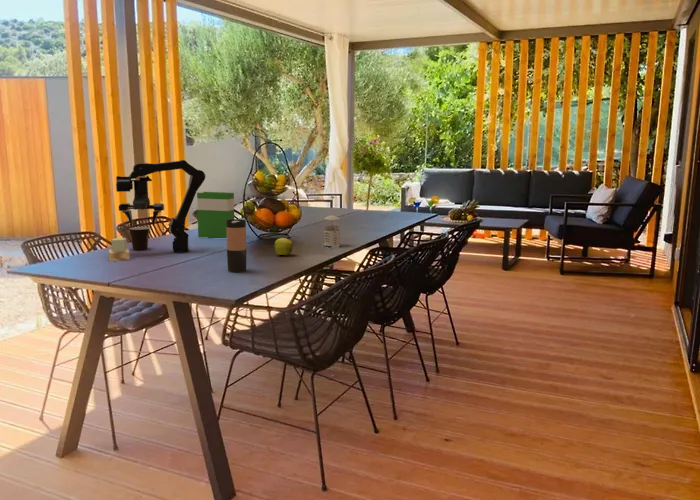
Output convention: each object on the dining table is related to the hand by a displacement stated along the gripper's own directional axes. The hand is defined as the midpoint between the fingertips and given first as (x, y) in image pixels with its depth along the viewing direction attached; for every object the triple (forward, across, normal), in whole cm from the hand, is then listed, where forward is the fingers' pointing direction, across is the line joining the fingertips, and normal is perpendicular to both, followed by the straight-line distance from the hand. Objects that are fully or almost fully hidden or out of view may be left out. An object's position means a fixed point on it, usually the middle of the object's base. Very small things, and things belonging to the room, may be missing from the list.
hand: (142, 226), depth 267 cm
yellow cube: (+9, -8, -12) cm, 17 cm away
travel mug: (+13, +42, -42) cm, 61 cm away
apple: (+13, +62, -11) cm, 64 cm away
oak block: (+13, -8, -12) cm, 19 cm away
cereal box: (+13, +30, +46) cm, 56 cm away
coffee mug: (+13, -3, +13) cm, 18 cm away
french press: (+13, +88, +12) cm, 90 cm away
